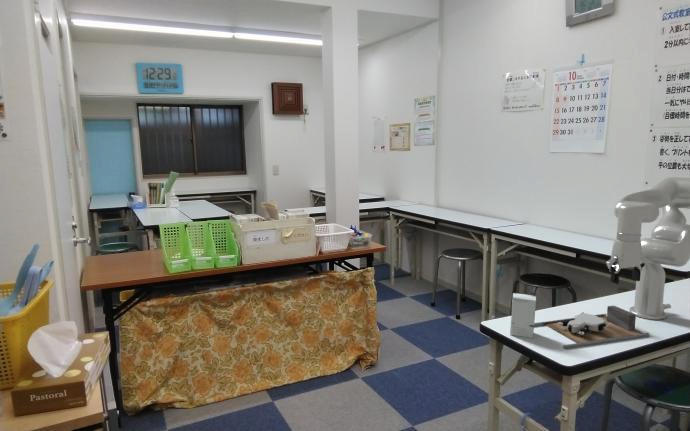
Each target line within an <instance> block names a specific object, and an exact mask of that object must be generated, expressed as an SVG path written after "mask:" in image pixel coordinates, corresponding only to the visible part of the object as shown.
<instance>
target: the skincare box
mask: <svg viewBox="0 0 690 431" xmlns="http://www.w3.org/2000/svg"><path fill="white" fill-rule="evenodd" d="M536 304H537V296H536V295H530V294H525V293H516V292H514V293H512V303H511V318H510V332H509V335H510V336H513V335H514V337H521V338H529V339H534V329H535V327H534V323H535V318H536V306H537V305H536Z"/></svg>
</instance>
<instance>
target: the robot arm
mask: <svg viewBox="0 0 690 431" xmlns="http://www.w3.org/2000/svg"><path fill="white" fill-rule="evenodd" d="M660 209H661V211H662V216H661V218H659V221H658V222H657V223H656V224H655V226H654V228H653V229H652V230H651V233H650V237H651V238H650V237H648V238H647V237H646V238H642V224H643V223H645V224H646V223H648V224H649V223H653V222H656V220H658V217H659V216H660ZM680 209H687V210H688V209H689V210H690V177H678V176H677V177H676V176H671V177H665V178H664V179H662V180H661V181H660V182H658V183H656V185H654V186H652V187H651V188H650V189H645V190H641V191H637V192H634V193H633V192H632V193H630V194H627V195H626V196H624V197H622V198H620V200H619V201H618V202H617V203H616V205H615V206H614V209H613V210H614V215H615V216H616V218H617V225H616V226H617V228H616V239H615V240H614V242H613V246H612V249H611V253H610V254H611V255H610V258H609V259H608V260H607V261H606V262H605V263H606V267H607V270H609V272H610V283H612V284H616V285H618V284H619V283H620V282H619V281H620V273H619V272H620V271H621V269H628V268H630V269H631V268H632V270H631V280H633V281H635V292H634V293H635V294H634V304H633V306H631V307H629V311H628V312H631V313H633V314H635V315H636V317H639V318H643V319H647V320H655V321H656V320H657V321H658V320H664V319H666V318H667V313H666V312H665V310H668V309H671V308H672V305H671V303H665V304H664V295H665V294H664V293H665V286H666V285H665V283H666V272H665V270H664V268H663V266H662V265H665V266H671V267H677V268H681V267H683V266H685V265H687V264H688V262H689V261H690V224H687V218H686V216H685V214H684V213H683V211H682V210H680ZM641 238H642V239H641Z"/></svg>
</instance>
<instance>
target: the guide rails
mask: <svg viewBox="0 0 690 431" xmlns="http://www.w3.org/2000/svg"><path fill="white" fill-rule="evenodd" d="M594 316H598V317H603V316H607V313H601V314H594ZM572 320H575V317H570V318H569V317H568V318H563V319H554V320H548V321H540V322H534V328H535V327H542V326H546V324H551V323H558V322H562V321H572ZM642 333H643V334H636V335H629V336H622V337H616V338H609V339H602V340H595V341H589V342H582V343H576V342H574V343H571V344H569V343H568V344H564V345H563V346H562V348H563V349H564V350H567V349H574V348H583V347H586V346H594V345H595V346H596V345H601V344H607V343H613V342H621V341H627V340H634V339H639V338H647V337H650V332H642Z"/></svg>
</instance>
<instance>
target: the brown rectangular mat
mask: <svg viewBox="0 0 690 431" xmlns="http://www.w3.org/2000/svg"><path fill="white" fill-rule="evenodd" d="M636 317H637V316H636V315H635V314H633V313H631V312H630V311H628V310H625V309H623V308H620V307H618V306H616V305H608V306H607V310H606V316H603V317H600V318H602V319H603V320H604V321H605V322H606V326H607V325H609V324H610V323H612V324H611V325H609V326H608V327H606V329H604V330H601V331H598V332H595V331H590V330H587V332H586V334H585V335H580V334H576V333H573V332H572V331H568V330H567V326H561V325H559V324H558V323H551V324H546V325H545V326H547V327H548V328H550V329H551V330H553V331H555V332H556V333H558V334H560V335H562V336H563V337H565V338H568V339H569V340H571V341H572V342H574V343H582V342H589V341H595V340H602V339H609V338H616V337H622V336H629V335H636V334H643V333H644V332H642V331H640V330H638V329H636V319H637V318H636ZM569 322H570V321H569Z"/></svg>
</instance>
